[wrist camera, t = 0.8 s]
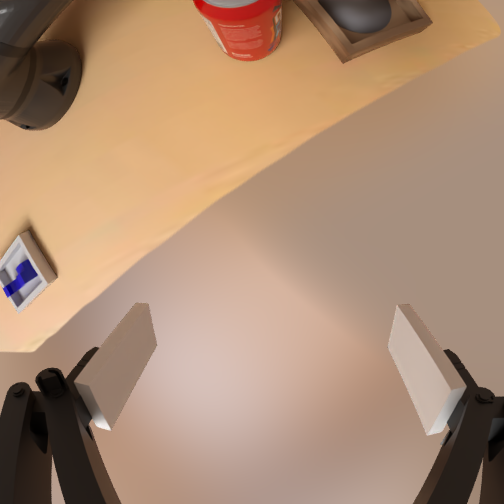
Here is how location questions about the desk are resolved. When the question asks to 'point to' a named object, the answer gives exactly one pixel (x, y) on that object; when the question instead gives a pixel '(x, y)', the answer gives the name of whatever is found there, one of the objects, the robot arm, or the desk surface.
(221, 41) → the soda can
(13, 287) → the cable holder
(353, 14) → the walnut box
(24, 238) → the grey desk tray
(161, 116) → the desk surface
